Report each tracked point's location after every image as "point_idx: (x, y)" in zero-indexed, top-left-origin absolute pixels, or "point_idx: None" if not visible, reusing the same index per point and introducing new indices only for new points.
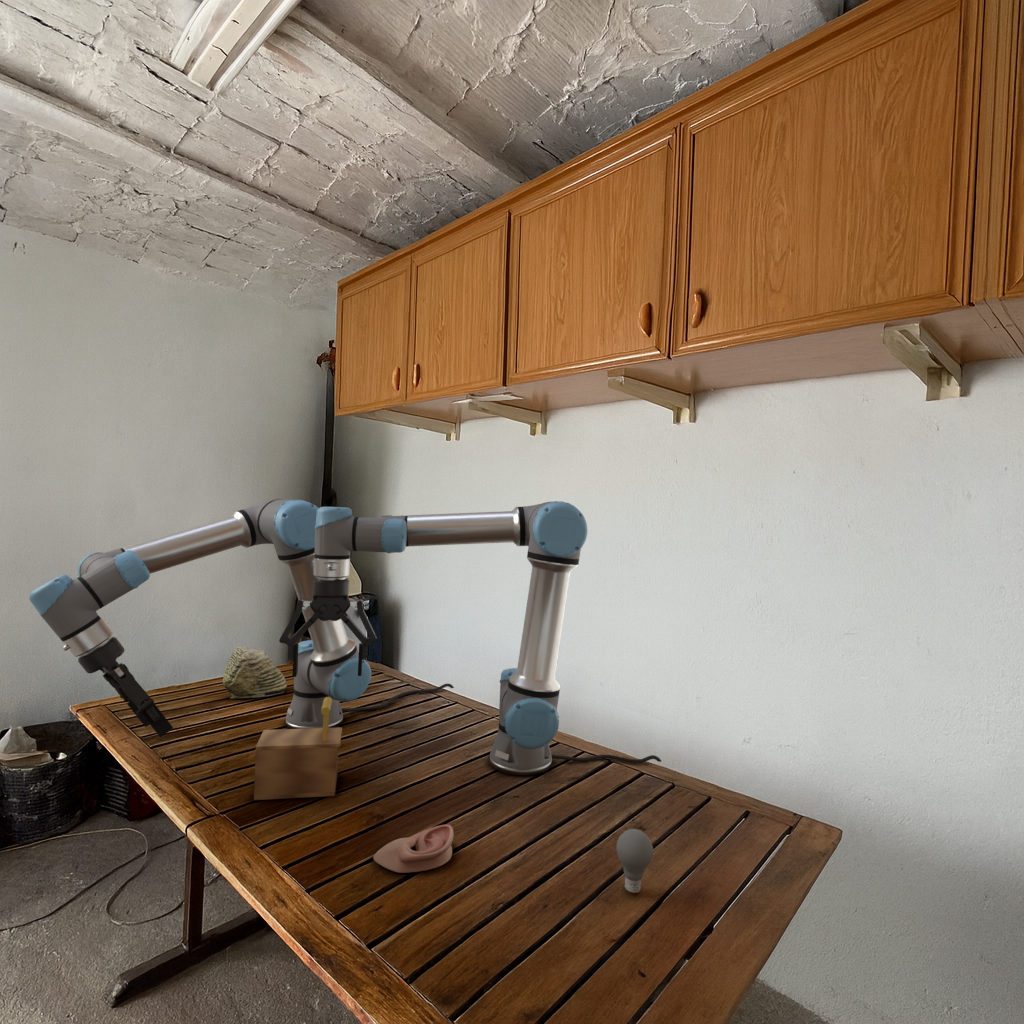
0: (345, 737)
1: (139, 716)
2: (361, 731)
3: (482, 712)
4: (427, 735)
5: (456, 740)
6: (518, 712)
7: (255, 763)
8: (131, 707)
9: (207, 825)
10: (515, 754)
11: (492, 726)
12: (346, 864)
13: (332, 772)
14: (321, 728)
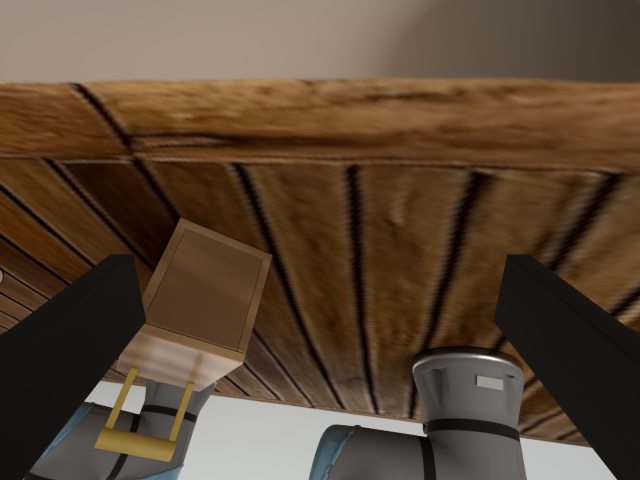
0: (366, 355)
1: (551, 305)
2: (372, 367)
3: (331, 407)
4: (303, 378)
5: (271, 378)
6: None
7: (146, 288)
8: (634, 368)
9: (72, 118)
10: (151, 382)
11: (288, 396)
12: None
13: None
14: (205, 385)
